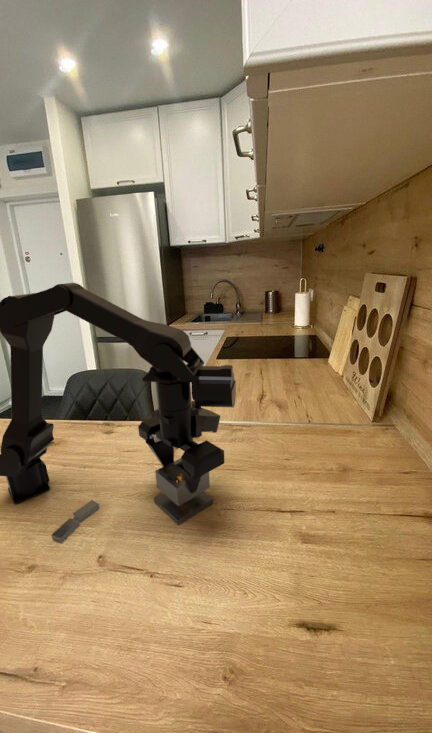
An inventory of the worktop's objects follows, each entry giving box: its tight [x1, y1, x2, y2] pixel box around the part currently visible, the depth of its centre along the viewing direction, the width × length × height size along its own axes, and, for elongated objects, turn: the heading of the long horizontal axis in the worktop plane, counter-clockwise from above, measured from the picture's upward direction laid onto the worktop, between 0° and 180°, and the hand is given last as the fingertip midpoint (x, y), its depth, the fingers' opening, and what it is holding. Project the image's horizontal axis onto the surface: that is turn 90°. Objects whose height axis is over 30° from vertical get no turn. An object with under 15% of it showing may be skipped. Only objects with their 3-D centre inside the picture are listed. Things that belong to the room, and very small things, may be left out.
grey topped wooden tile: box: [72, 499, 101, 523], centre depth 60 cm, size 4×2×1 cm, turn 146°
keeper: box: [153, 473, 215, 526], centre depth 61 cm, size 8×8×6 cm
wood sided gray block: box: [51, 517, 81, 544], centre depth 56 cm, size 4×2×1 cm, turn 159°
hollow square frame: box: [154, 457, 211, 506], centre depth 60 cm, size 7×7×4 cm
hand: (181, 482), depth 60 cm, fingers closed on hollow square frame, 7 cm apart
